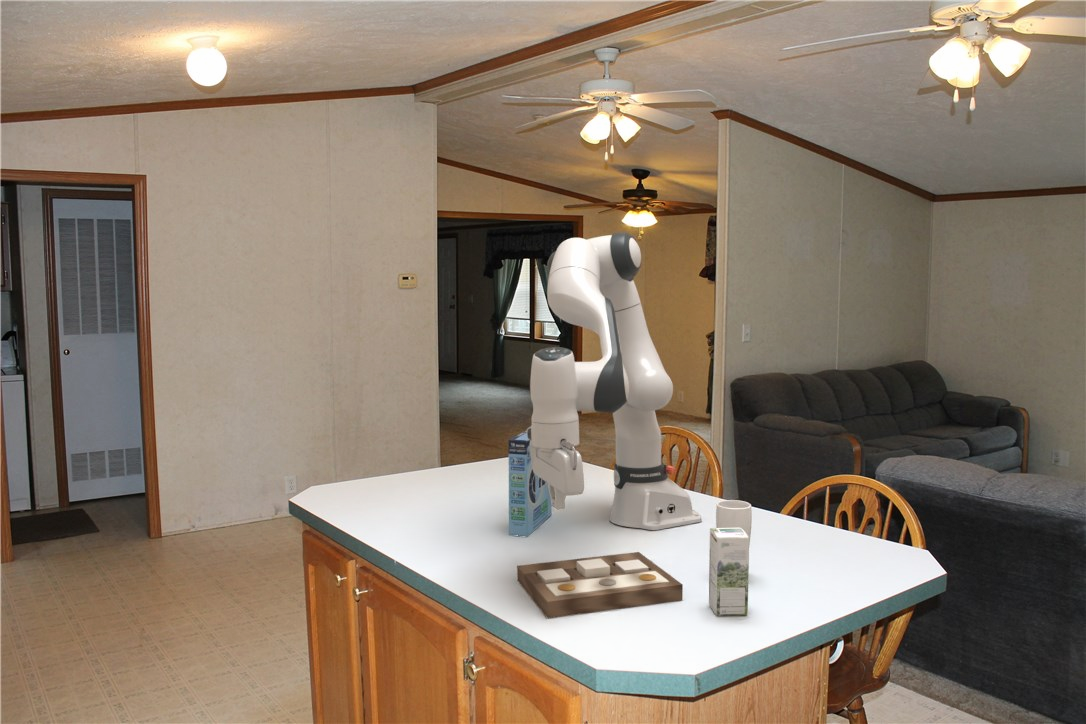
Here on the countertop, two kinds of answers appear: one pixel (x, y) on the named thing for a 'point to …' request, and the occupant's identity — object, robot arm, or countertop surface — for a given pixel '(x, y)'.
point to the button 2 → (631, 566)
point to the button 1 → (552, 575)
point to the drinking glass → (734, 515)
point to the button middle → (593, 568)
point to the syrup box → (728, 571)
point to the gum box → (525, 490)
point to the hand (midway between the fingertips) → (558, 507)
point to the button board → (598, 587)
